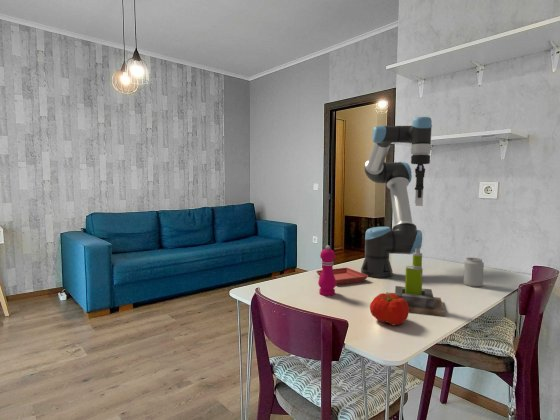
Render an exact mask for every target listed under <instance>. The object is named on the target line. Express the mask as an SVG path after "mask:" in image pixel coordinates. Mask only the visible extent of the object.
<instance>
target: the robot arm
mask: <svg viewBox="0 0 560 420" xmlns="http://www.w3.org/2000/svg"><path fill="white" fill-rule="evenodd" d="M432 123H433V122H432V118H431V117H428V116H419V117H418V116H417V117H415V118H413V119H412V123H411V125H377V126H374V127H373V129H372V134H371V137H372V142H373V146H372V149H371V151H370V152H371V153H370V156H369V158H368V160H366V162H365V165H364V173H365V175H366V177H367V178H368V179H369V180H370V181H372V182H374V183H376V184H386V187H387V189H388V190H389V191H390V200H391V207H392V214H393V221H394V223H393V224H394V225H393V226H392V228H390V226H374V227H370V228H368V229H366V231H365V236H364V237H365V238H364V241H365V242H364V243H365V245H364V259H363V262H362V265H361V268H360V273H363V274H366V275H368V277H367V278H376V279H377V278H378V279H379V278H381V279H382V278H383V279H385V278H391V277H393V271H394V270H393V268H392V265H391V261H390V254H396V255H397V254H398V255H401V254H402V255H413V253H415V248H420V250H421V248H422V244H423V232H422V230H420V229H418V228H417V225H416V224H414V223H413V218H412V212H411V205H410V199H409V193H408V186H409V184H410V183H411V182H412V178H413V177H412V168H411V165H417V166H416V168H414V173H415V175H414V176H415V178H416V180H415V187H414V191H415V197H414V198H415V200H414V203H415V207H417V206H418V207H423V206H424V205H423V202H424V189H425V188H424V178H425V173H426V168H425V166H424V165H429V164H430V163H431V155H430V154H431V149H433V146H431V145H432V128H433V124H432ZM393 143H395V144H399V143H400V144H401V143H403V144H404V143H406V144H411V149H410V150H411V151H410V152H411V157H410V164H411V165H410V164H409V163H408V162H404V161H403V162H402V161H398V162H397V161H393V162H392V161H391V162H390V161H388V162H387V161H385V160H386V157H387V155H388V152H389V150H390V147H391V146H392V144H393Z"/></svg>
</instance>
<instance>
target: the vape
mask: <svg viewBox="0 0 560 420" xmlns="http://www.w3.org/2000/svg"><path fill="white" fill-rule="evenodd" d="M422 264H423V252H421V249H420V248H415V253H413V254H412V265H407V266H405V283H404V284H405V286H404V287H405V294H413V295H422V289H423V276H424V275H423V270H424V269H423V266H422Z"/></svg>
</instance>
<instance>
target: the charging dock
mask: <svg viewBox="0 0 560 420" xmlns="http://www.w3.org/2000/svg"><path fill="white" fill-rule="evenodd" d="M394 290H395V291H394V292H386V293H385V294H390V293H392V294H395V295H397V296H399V298H402V299H405V301H406V302H407V304H408V307H409V313H412V314H423V315H431V316H440V317H446V310H445V307H444V303H443V301H442V299H441V297H437V296H436V297H435V296H434V294H433V290H432V289H431V288H422V295H413V294H405V286H400V285H399V286H398V285H395V288H394Z"/></svg>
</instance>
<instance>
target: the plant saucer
mask: <svg viewBox="0 0 560 420" xmlns="http://www.w3.org/2000/svg"><path fill="white" fill-rule="evenodd" d="M315 272H316V273H317V275H318V276H319V277H320V276H321V273H322V269H320V270H316V271H315ZM333 274H334V277H335V279H336V286H337V285H338V286H339V285H346V284H354V283H361V282H364V281H366V279H368V278H369V277H368V275H366V274H363V273H361V271H360V272H359V271H358V270H354V269H352V268H349V267H339V268H333Z"/></svg>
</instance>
